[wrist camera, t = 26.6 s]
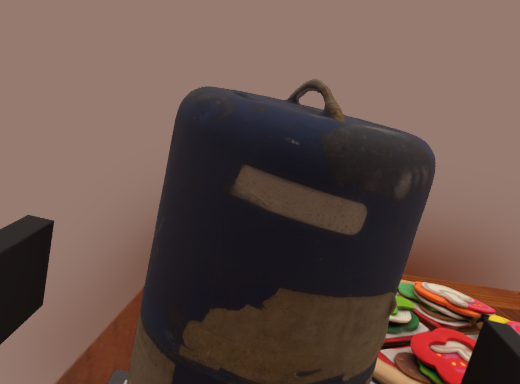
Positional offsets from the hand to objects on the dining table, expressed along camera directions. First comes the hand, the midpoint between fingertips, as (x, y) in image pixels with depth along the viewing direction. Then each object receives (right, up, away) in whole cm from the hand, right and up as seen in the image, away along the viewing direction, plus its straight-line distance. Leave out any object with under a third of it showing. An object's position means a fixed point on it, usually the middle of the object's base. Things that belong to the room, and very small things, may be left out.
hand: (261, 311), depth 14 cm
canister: (-2, -10, +7) cm, 12 cm away
